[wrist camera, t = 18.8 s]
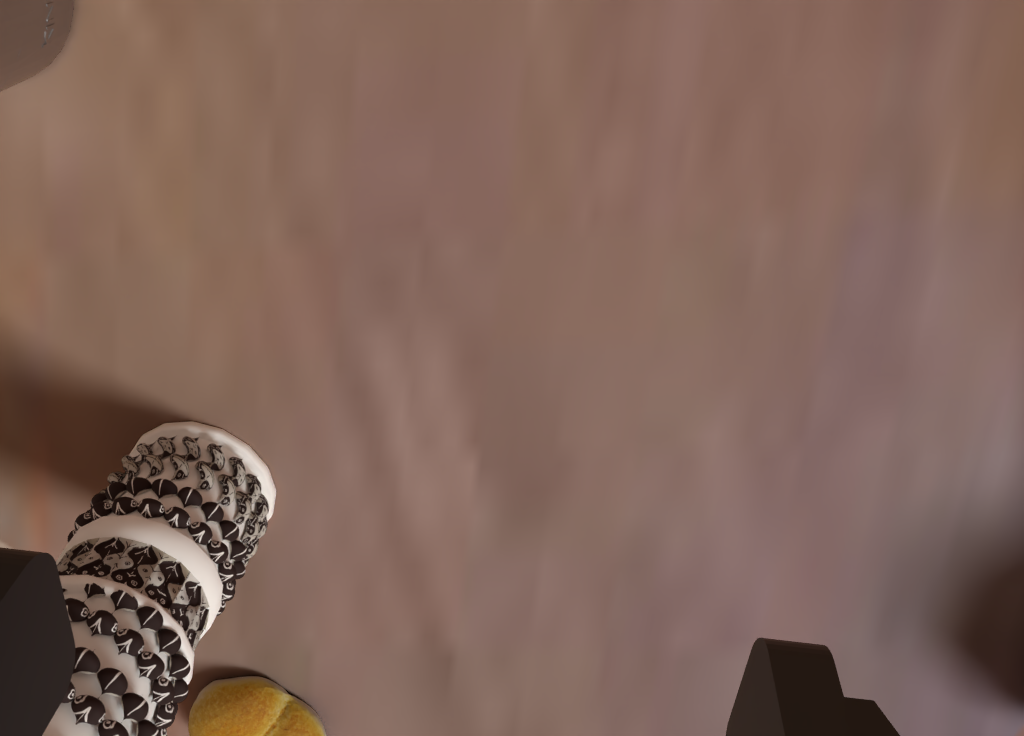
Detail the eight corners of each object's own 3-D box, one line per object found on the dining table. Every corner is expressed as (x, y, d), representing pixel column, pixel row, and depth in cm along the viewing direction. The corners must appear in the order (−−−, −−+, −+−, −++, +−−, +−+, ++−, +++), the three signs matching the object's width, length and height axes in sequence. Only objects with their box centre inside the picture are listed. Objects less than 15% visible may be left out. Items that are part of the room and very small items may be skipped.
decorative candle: (106, 507, 55) (-226, 961, 33) (142, 388, 50) (-217, 829, 29) (254, 567, 56) (26, 1042, 35) (303, 458, 51) (74, 929, 30)
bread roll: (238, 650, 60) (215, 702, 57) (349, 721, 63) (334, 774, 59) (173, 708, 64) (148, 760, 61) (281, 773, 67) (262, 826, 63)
